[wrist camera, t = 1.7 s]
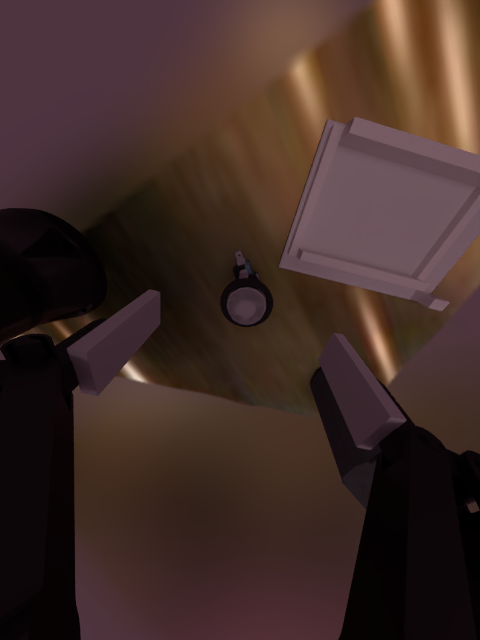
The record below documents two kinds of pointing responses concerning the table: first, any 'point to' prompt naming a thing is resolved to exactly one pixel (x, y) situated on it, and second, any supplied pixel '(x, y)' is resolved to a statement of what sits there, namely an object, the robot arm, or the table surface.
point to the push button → (246, 297)
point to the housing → (385, 211)
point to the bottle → (344, 442)
